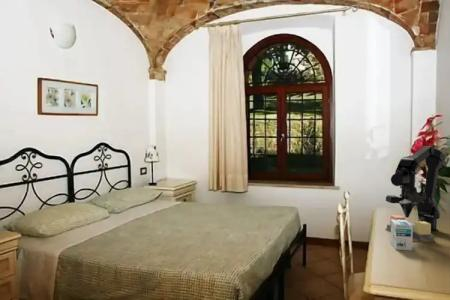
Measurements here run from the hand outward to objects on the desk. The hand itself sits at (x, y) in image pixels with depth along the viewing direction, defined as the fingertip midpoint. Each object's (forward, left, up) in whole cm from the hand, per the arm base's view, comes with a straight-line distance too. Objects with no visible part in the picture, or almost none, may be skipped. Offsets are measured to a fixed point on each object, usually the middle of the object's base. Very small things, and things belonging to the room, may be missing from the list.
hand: (407, 217), depth 181 cm
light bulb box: (+11, +16, -9) cm, 22 cm away
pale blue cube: (0, 0, -8) cm, 8 cm away
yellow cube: (-4, +6, -6) cm, 9 cm away
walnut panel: (-2, -1, -9) cm, 9 cm away
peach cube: (+1, -7, -6) cm, 9 cm away
